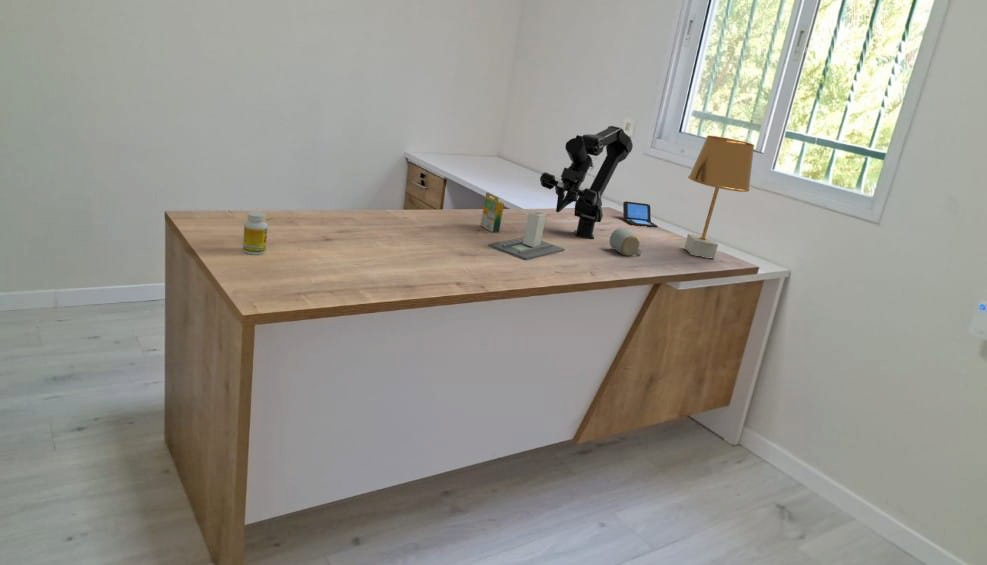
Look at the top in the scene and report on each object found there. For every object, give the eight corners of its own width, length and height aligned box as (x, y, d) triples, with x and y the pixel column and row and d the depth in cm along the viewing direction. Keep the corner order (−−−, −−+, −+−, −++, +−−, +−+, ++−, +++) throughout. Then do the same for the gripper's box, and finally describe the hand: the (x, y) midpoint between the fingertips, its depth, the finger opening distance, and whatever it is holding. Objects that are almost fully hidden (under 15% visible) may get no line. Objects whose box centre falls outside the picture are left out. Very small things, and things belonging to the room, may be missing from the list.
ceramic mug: (619, 256, 225) (625, 233, 222) (606, 248, 232) (612, 226, 229) (646, 258, 229) (652, 236, 226) (632, 250, 236) (638, 228, 233)
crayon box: (499, 232, 227) (505, 198, 223) (492, 232, 225) (498, 197, 222) (487, 225, 233) (493, 192, 229) (480, 225, 231) (485, 191, 227)
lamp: (736, 267, 237) (771, 150, 224) (677, 257, 237) (709, 138, 224) (718, 250, 257) (750, 141, 244) (663, 241, 256) (692, 131, 243)
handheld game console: (630, 226, 272) (635, 207, 270) (618, 218, 282) (622, 200, 279) (658, 229, 276) (663, 211, 274) (645, 221, 286) (650, 204, 283)
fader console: (528, 237, 227) (529, 234, 226) (564, 250, 220) (565, 246, 219) (488, 245, 209) (489, 242, 209) (525, 260, 202) (526, 256, 202)
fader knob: (529, 241, 218) (535, 211, 215) (540, 245, 216) (546, 214, 213) (522, 243, 215) (528, 212, 212) (533, 247, 213) (539, 215, 210)
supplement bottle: (241, 247, 170) (243, 210, 167) (263, 248, 172) (266, 211, 169) (243, 255, 165) (246, 216, 162) (267, 255, 168) (269, 217, 165)
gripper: (549, 148, 216) (528, 190, 213) (605, 168, 211) (583, 212, 208) (552, 164, 227) (531, 205, 223) (604, 184, 222) (584, 226, 219)
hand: (557, 211), depth 218 cm, fingers closed
